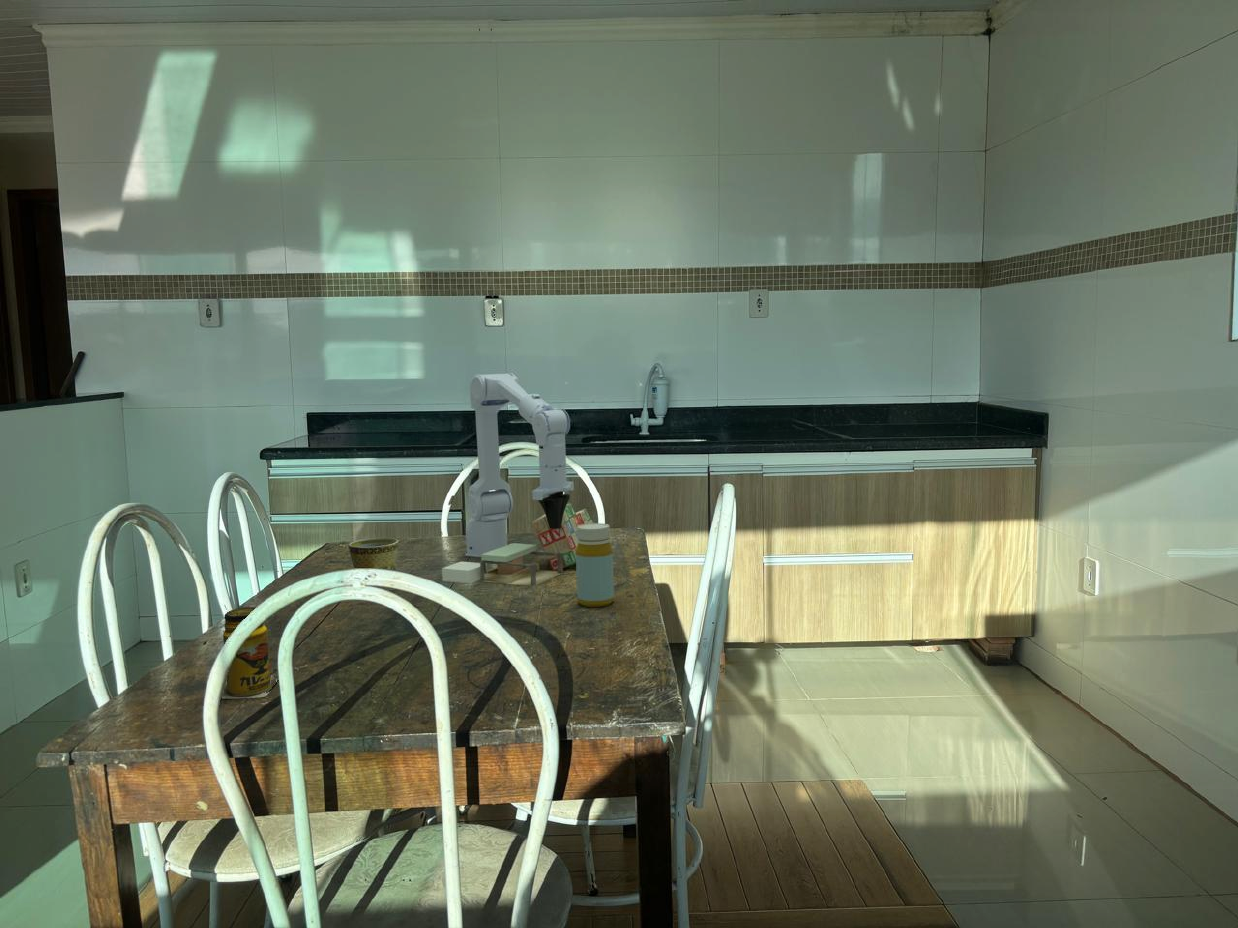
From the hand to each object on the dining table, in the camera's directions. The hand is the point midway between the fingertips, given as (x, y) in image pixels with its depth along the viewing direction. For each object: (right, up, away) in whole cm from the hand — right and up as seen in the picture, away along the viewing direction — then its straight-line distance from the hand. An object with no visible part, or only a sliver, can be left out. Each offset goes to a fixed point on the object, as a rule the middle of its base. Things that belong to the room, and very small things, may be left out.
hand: (555, 528), depth 204 cm
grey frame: (-7, -11, 0) cm, 13 cm away
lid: (-10, -6, +1) cm, 12 cm away
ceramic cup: (-38, -12, -5) cm, 40 cm away
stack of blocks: (+5, -8, +14) cm, 17 cm away
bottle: (+9, -13, -22) cm, 28 cm away
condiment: (-41, -20, -65) cm, 80 cm away
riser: (-19, -11, 0) cm, 22 cm away
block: (-10, -10, +1) cm, 14 cm away
